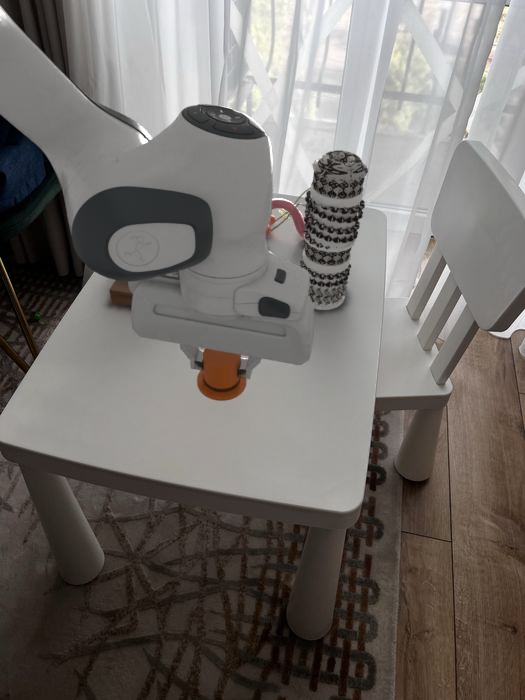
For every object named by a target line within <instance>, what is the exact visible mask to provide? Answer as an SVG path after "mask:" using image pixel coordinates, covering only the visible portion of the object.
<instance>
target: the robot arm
mask: <svg viewBox="0 0 525 700" xmlns="http://www.w3.org/2000/svg"><path fill="white" fill-rule="evenodd" d="M0 116H1V117H3V119H5V120H6V121H8V122H9V124H10V125H12V126H13V127H14V128H16V129H17V130H18V131H19V132H20V133H21V134H23V135H24V136H25V137H27V138H28V139H29V140H30V141H31V142H32V143H34V144H35V145H36V146H37V147H38V148H39V149H41V151H42V153H44V155H45V157H46V158H47V159H48V161H49V162H50V164H51V166H52V168H53V171H54V172H55V174H56V177H57V179H58V182H59V184H60V187H61V190H62V195H63V199H64V204H65V210H66V217H67V222H68V226H69V231H70V235H71V240H72V245H73V248H74V251H75V252H76V255H77V256H78V257H79V259H80V260H81V261H82V263H84V265H85V266H86V267H88V268H89V269H90V270H92V272H94V273H96V274H97V275H100V276H102V277H104V278H107V279H109V280H114V281H115V280H118V281H128V286H129V289H130V291H131V292H132V294H133V297H132V307H130V308H131V309H130V317H131V318H130V319H131V328H132V330H133V331H134V332H135V333H136V335H137V336H139V337H140V338H144V339H150V340H155V341H161V342H166V343H171V344H178V345H179V349H180V351H182V353H183V354H184V355H185V356H186V357H187V359H188V360H189V362H190V363H189V365H190V369H191V370H197V371H201V370H202V371H203V352H204V350H205V349H211V350H217V351H222V352H228V353H233V354H239V355H241V356H245V357H248V358H245V357H241V363H240V365H239V367H238V377H240V378H245V379H246V380H251V378H252V374H253V370H254V369H255V368H256V367H257V366H259V365H260V364H261V361H262V360H267V361H274V362H278V363H284V364H291V365H294V366H302V365H304V364H306V363H308V361H310V359H311V354H312V349H313V342H314V334H315V309H314V307H313V303H312V300H311V298H310V297H309V295H308V293H309V284H310V277H309V272H308V271H307V270H306V269H304V268H302V267H301V265H300V266H299V265H297V264H295V263H293V262H291V261H288V260H286V259H284V258H282V257H280V256H278V255H276V254H274V253H272V252H271V251H270V250H269V245H268V240H267V236H266V230H267V227H268V224H269V222H270V219H271V216H272V213H273V209H272V199H274V198H273V195H274V164H273V163H274V161H273V151H272V144H271V140H270V137H269V135H268V133H266V132H265V130H264V129H263V127H262V126H261V125H260V124H258V122H257V121H256V120H254V119H253V118H252V117H250V116H249V115H248V114H246V113H245V112H241V111H238V110H236V109H234V108H231V107H227V106H224V105H218V104H209V103H199V104H195V105H189V106H186V107H184V108H183V109H182V110H181V111H180V112H179V114H178V116H177V117H176V118H175V119H174V120H173V121H172V122H171V123H170V124H169V125H168V126H167V127H166V128H164V129H162V131H160V132H159V133H158V134H156V135H155V136H154V137H152V135H150V133H149V132H148V131H147V129H145V127H143V126H142V125H141V124H140V123H138V122H137V121H135V120H134V119H133V118H131V117H129V116H127V115H125V114H123V113H121V112H119V111H117V110H114V109H113V108H110V107H108V106H106V105H104V104H102V103H100V102H98V101H97V100H96V99H93V98H92V97H91V96H90V95H88V94H87V93H86V92H84V91H83V90H82V89H81V88H80V87H79V86H78V85H77V84H76V83H75V82H74V81H73V80H72V79H71V78H70V77H69V76H68V75H67V74H66V73H65V71H63V70H62V68H60V67H59V66H58V65H57V63H56V62H55V61H53V60H52V58H51V57H49V56H48V54H46V52H44V50H43V49H42V48H41V47H40V46H39V45H38V44H37V43H36V42H35V41H34V40H33V39H32V38H31V37H30V36H29V35H28V34H27V33H26V32H25V31H24V30H23V28H21V26H19V24H18V23H17V22H16V21H15V20H14V19H13V18H12V16H10V14H8V13H7V12H6V11H5V9H4V8H3V6H1V4H0ZM200 348H201V349H204V350H201V349H200Z"/></svg>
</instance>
